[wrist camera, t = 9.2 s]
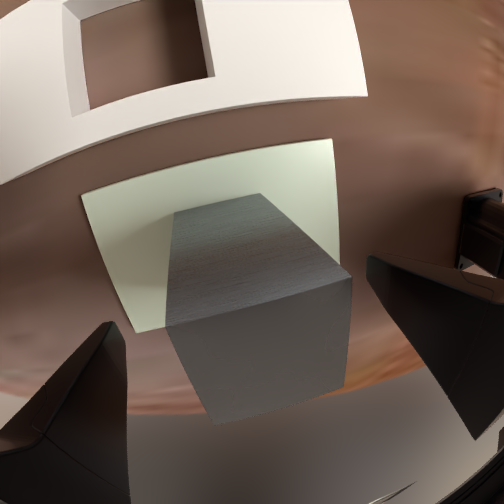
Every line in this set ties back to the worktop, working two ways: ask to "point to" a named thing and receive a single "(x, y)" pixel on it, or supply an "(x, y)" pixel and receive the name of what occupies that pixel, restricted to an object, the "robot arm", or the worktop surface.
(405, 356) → the worktop surface
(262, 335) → the grey rectangular block
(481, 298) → the robot arm
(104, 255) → the green pad
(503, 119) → the worktop surface
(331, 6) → the cream window plate
